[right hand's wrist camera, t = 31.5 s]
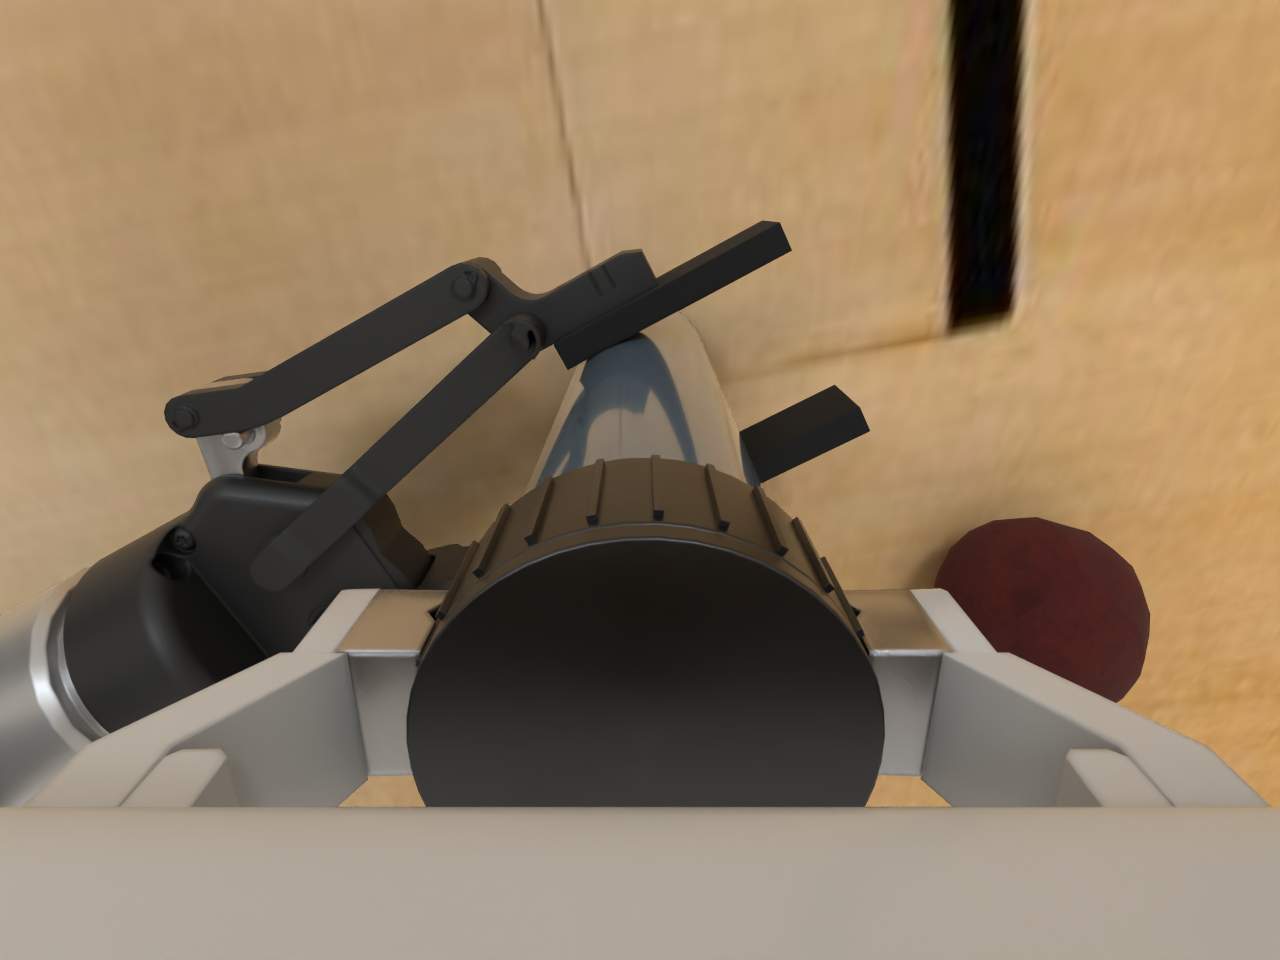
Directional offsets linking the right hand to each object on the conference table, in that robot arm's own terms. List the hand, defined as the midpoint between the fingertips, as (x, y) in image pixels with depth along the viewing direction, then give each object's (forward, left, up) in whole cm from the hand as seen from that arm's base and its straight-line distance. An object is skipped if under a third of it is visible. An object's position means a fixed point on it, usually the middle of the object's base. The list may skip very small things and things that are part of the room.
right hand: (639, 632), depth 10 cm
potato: (-7, +16, -18) cm, 25 cm away
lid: (0, 0, +2) cm, 2 cm away
